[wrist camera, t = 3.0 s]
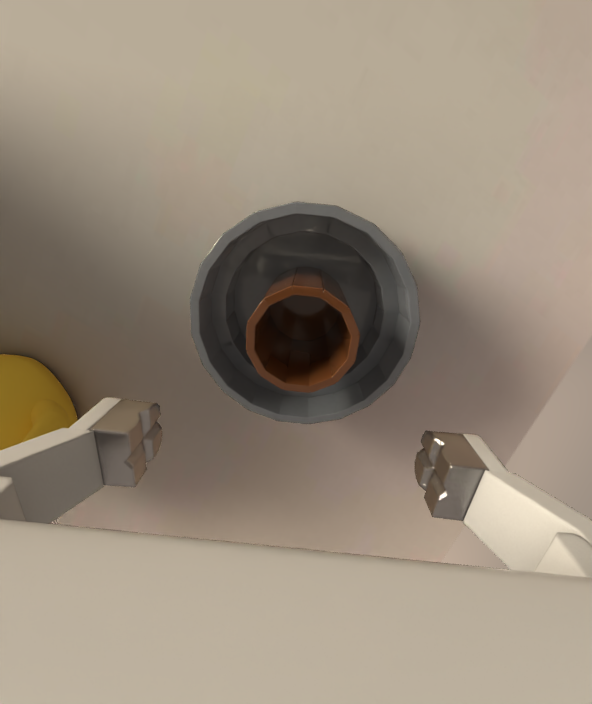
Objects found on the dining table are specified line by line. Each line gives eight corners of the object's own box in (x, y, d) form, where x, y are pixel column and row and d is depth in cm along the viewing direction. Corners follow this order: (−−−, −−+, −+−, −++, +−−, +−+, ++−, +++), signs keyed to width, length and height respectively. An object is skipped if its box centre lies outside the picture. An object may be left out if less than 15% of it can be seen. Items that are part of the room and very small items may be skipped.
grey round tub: (413, 218, 22) (448, 216, 17) (375, 391, 28) (392, 433, 22) (216, 198, 22) (184, 190, 17) (217, 374, 28) (193, 412, 22)
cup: (349, 270, 23) (368, 293, 16) (337, 347, 26) (349, 397, 18) (267, 262, 23) (247, 280, 16) (263, 339, 26) (244, 386, 18)
